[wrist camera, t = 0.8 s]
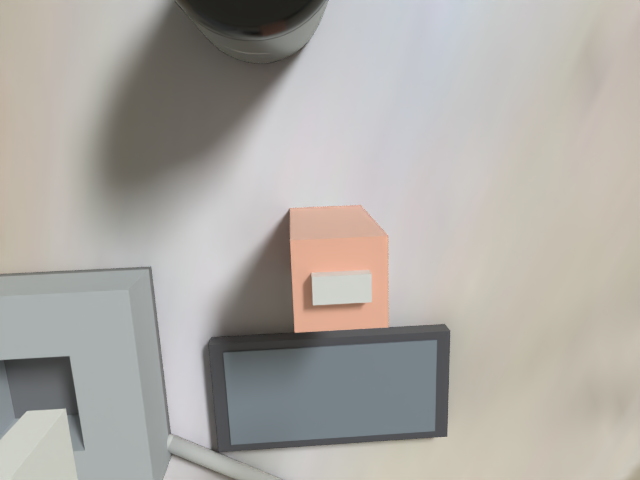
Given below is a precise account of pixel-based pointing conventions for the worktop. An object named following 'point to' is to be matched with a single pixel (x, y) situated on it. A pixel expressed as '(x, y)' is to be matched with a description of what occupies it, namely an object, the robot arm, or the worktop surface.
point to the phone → (330, 387)
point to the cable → (214, 460)
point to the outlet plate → (88, 366)
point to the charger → (338, 269)
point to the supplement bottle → (256, 25)
